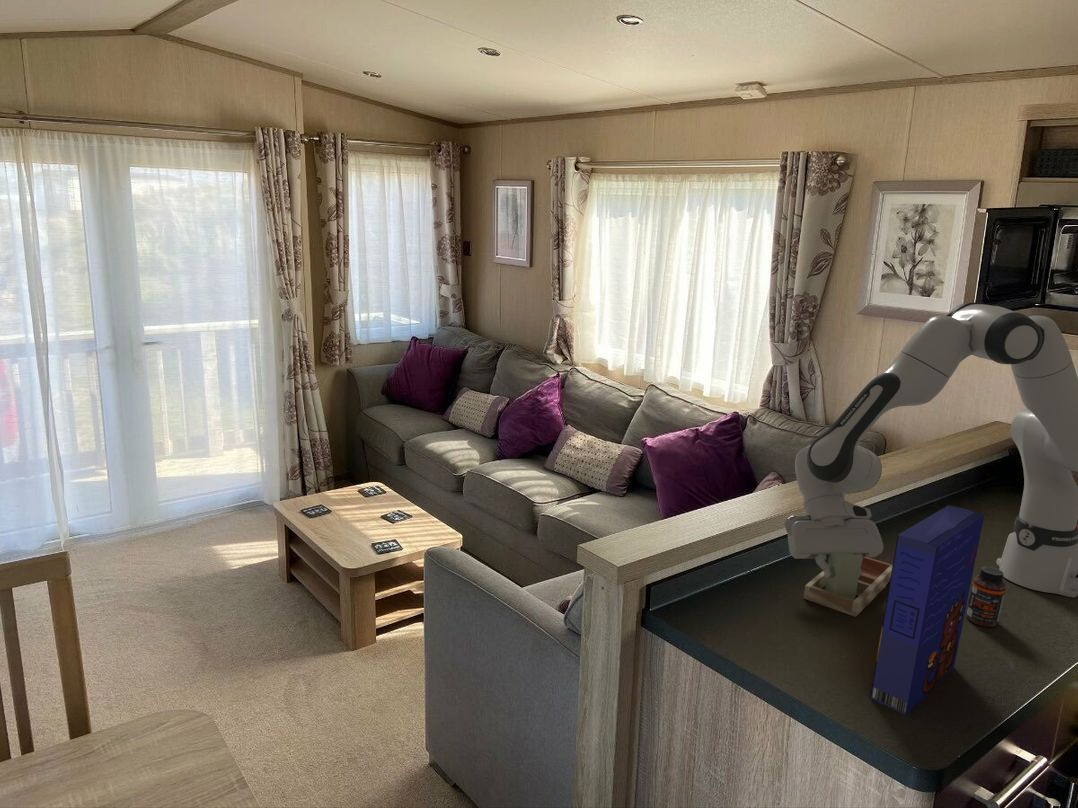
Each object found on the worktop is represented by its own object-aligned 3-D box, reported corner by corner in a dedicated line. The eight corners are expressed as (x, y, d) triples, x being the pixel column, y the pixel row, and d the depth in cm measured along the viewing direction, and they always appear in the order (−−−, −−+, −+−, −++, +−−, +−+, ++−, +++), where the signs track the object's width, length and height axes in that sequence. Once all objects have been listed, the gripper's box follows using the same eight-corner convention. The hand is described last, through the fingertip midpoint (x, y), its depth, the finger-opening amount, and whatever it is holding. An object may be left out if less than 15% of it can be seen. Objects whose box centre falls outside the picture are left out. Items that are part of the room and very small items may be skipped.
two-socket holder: (845, 562, 189) (847, 550, 188) (894, 577, 182) (896, 565, 181) (803, 598, 170) (805, 585, 169) (855, 616, 163) (857, 603, 162)
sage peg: (823, 593, 172) (829, 550, 170) (843, 593, 173) (850, 550, 171) (834, 604, 168) (840, 560, 166) (854, 603, 169) (861, 559, 166)
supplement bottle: (966, 624, 163) (977, 572, 160) (963, 611, 168) (973, 561, 165) (1000, 631, 160) (1011, 579, 158) (995, 617, 166) (1006, 567, 163)
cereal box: (920, 653, 150) (948, 503, 143) (954, 667, 146) (984, 514, 139) (869, 698, 136) (898, 533, 128) (905, 715, 131) (936, 546, 124)
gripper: (788, 510, 171) (803, 572, 164) (877, 509, 174) (895, 570, 167) (777, 521, 177) (791, 582, 170) (863, 520, 180) (880, 580, 173)
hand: (843, 576), depth 169 cm, fingers closed on sage peg, 5 cm apart
